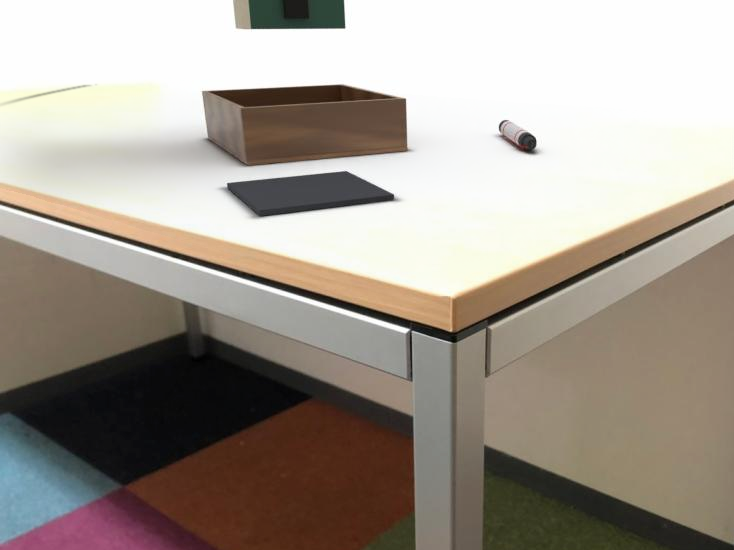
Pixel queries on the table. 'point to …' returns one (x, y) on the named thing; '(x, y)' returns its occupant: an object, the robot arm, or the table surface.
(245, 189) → the mat
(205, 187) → the table surface
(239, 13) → the book
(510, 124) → the marker
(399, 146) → the box
